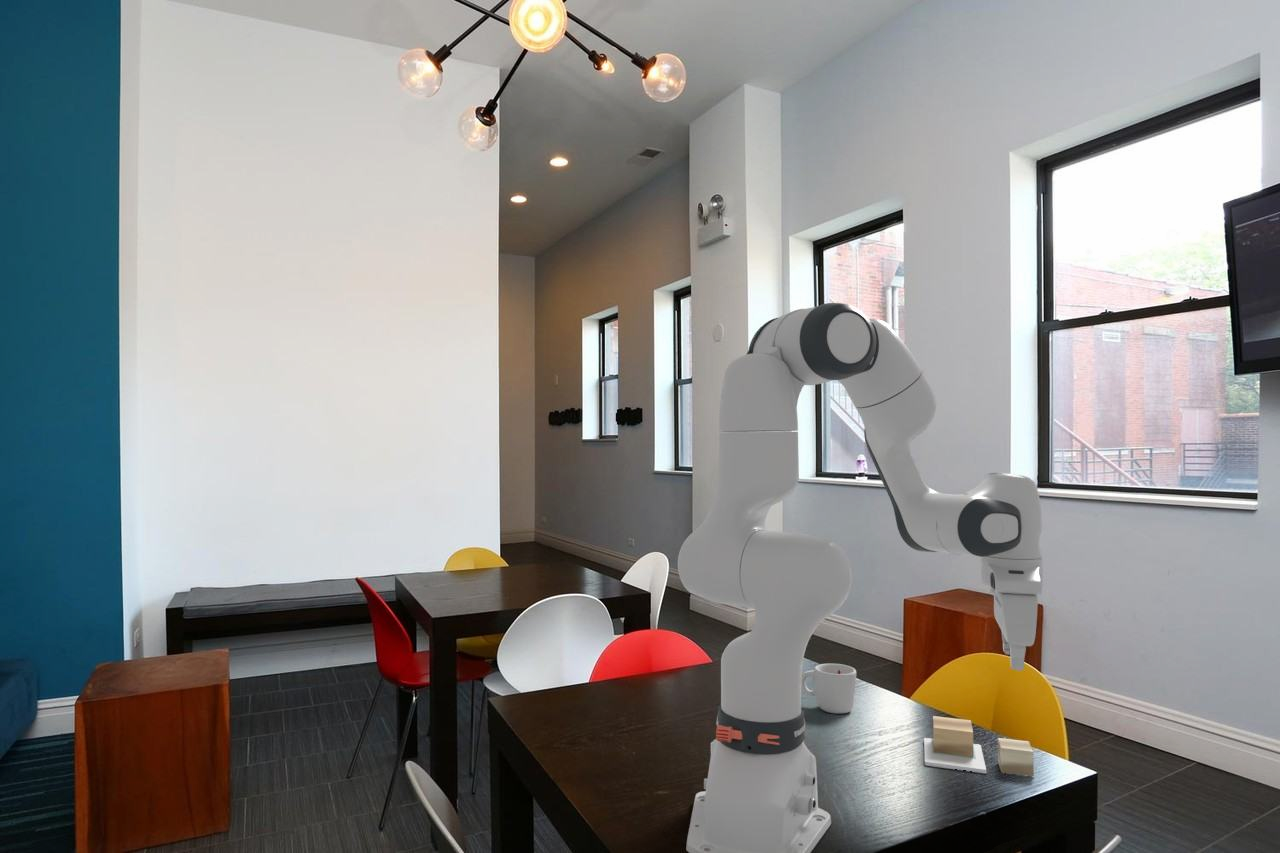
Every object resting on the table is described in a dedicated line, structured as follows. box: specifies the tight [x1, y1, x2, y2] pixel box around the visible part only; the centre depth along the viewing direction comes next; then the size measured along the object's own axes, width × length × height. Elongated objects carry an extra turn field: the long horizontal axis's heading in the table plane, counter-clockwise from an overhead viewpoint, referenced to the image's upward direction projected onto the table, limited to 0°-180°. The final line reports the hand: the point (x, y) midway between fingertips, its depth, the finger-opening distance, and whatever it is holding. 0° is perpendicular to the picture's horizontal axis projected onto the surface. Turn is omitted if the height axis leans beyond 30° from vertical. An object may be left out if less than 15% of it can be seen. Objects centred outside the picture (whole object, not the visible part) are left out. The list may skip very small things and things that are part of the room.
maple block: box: [997, 737, 1035, 777], centre depth 119 cm, size 4×4×4 cm
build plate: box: [923, 737, 987, 774], centre depth 123 cm, size 11×9×1 cm
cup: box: [801, 663, 857, 715], centre depth 147 cm, size 11×8×8 cm
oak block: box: [932, 715, 974, 757], centre depth 125 cm, size 6×6×4 cm
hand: (1013, 661), depth 119 cm, fingers open, 8 cm apart
